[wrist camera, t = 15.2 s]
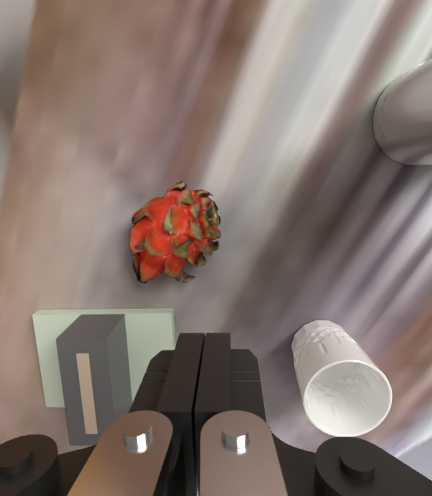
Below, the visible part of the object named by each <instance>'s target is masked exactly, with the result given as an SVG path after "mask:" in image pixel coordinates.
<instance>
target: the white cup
mask: <svg viewBox="0 0 432 496" xmlns="http://www.w3.org/2000/svg"><path fill="white" fill-rule="evenodd" d="M291 348H292V353H293V358H294V367H295V373H296V377H297V381H298V385H299V389H300V393H301V398H302V402H303V406H304V410H305V413H306V415H307V417H308V419H309V420H310V422H311V423H312V424H313V425H314V426H315V427H316V428H318V429H319V430H321V431H322V432H324V433H326V434H329V435H332V436H336V437H355V436H359V435H362V434H365V433H367V432H369V431H371V430H373V429H374V428H376V427H377V426H378V425H379V424H380V423H381V422H382V421H383V420H384V419H385V417H386V416H387V414H388V412H389V410H390V407H391V403H392V391H391V387H390V384H389V382H388V380H387V378H386V377H385V375H384V374H383V373H382V372H381V371H380V369H379V368H378V367H377V366H376V365H375V364H374V363H373V361H372V360H371V359H370V358H369V357H368V355H367V354H366V353H365V352H364V351H363V350H362V348H361V347H360V346H359V345H358V344H357V343H356V342H355V341H354V340H353V339H352V338H351V337H350V336H349V335H348V334H347V333H346V332H345V331H344V330H343V328H342V327H341V326H339V325H337V324H335V323H333V322H331V321H329V320H315V321H312V322H310V323H308V324H305V325H303V326H302V327H301V328H300V329H299V330H298V332H297V333H296V334H295V335H294V338H293V342H292V345H291Z"/></svg>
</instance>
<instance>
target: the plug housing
mask: <svg viewBox="0 0 432 496" xmlns="http://www.w3.org/2000/svg"><path fill="white" fill-rule="evenodd" d="M56 345H57V353H58V360H59V368H60V375H61V382H62V390H63V397H64V405H65V412H66V420H67V427H68V435H69V442H70V445H96V444H97V443H98V441H99V440H100V438H101V436H102V435H103V433H104V431H105V430H106V428H107V427H108V426H109V425H110V424H111V423H112V422H113V421H115V420H116V419H118V418H119V417H121V416H123V415H126V414H128V412H129V410H130V408H131V405H132V393H131V382H130V371H129V359H128V348H127V336H126V325H125V314H81V315H80V316H79V317H78V318H77V319H76V320H75V321H74V322H73V323H72V324H71V325H70V326H69V327H68V328H67V329H66V330H65V331H64V332H63V333H62V334H60V335H59V336H58V337H57V338H56Z"/></svg>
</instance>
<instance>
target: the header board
mask: <svg viewBox="0 0 432 496" xmlns="http://www.w3.org/2000/svg"><path fill="white" fill-rule="evenodd" d="M81 314H125V325H126V336H127V348H128V359H129V371H130V382H131V393H132V403H133V400H134V398H135V396H136V393H137V391H138V389H139V386H140V384H141V382H142V379H143V377H144V374H145V373H146V369H147V367H148V365H149V362H150V360H151V359H152V358H153V357H154V356H155V355H157V354H158V353H159V352H160V351H161V350H175V347H176V341H175V324H174V308H141V309H68V310H38V311H37V312H36V313H34V314H33V315H32V317H33V324H34V331H35V337H36V344H37V350H38V357H39V364H40V370H41V377H42V384H43V390H44V397H45V403H46V407H65V405H64V397H63V390H62V382H61V375H60V368H59V360H58V353H57V345H56V338H57V337H58V336H59V335H60V334H62V333H63V332H64V331H65V330H66V329H67V328H68V327H69V326H70V325H71V324H72V323H73V322H74V321H75V320H76V319H77V318H78V317H79V316H80V315H81Z"/></svg>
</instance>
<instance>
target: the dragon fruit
mask: <svg viewBox="0 0 432 496" xmlns="http://www.w3.org/2000/svg"><path fill="white" fill-rule="evenodd" d="M186 187H187V185H186V183H185V182H184V181H182V182H179V183H177V184H175V185H173V186H172V187H171V188H169V189H168V190H167V192H166V195H165V196H164V197H161V198H160V197H157V198H154V199H152V200H150V201H149V202H147V203H146V204H145V206H144V207H143V208H141V209H140V210H139V211H137V212H136V213H134V215H133V217H132V222H133V223H132V224H133V226H132V230H131V235H130V240H129V247H130V251H131V253H132V255H133V268H134V271H135V273H136V275H137V280H138V281H140V282H141V283H142V282H143V283H146V282H147V281H148V280H151V279H154V278H156V277H158V276H159V275H160V274H161V273H162V272H164V271H165V274H167V275H168V276H169V277H170V278H173V277H174V278H175V279H176V280H177V281H179V280H181V277H180V275H181V276H182V277H184V278H185V279H184V280H183V281H182V282H183V283H186V282H189V281H191V280H192V279H193V278H195V276H191V275H188V274H186V273H185V272H184V271H183V267H184V265H185V264H186V263H187V262H190V263H191V264H193V265H194V266H197V267H199V266H203V265H205V263H206V259H205V257H204V256H203V252H204V253H207V254H208V255H210V256H211V255H212V251H216V250H217V249H218V247H219V242H218V241H216V242H214V241H212V240H215V239H217V238H220V236H221V234H220V230H219V229H218V228H217V227H218V225H219V224H220V221H221V220H220V217H219V216H218V213H217V210H218V208H217V205H216V204H215V202H214V201H213V200H211V199H210V198H208V196H209V195H212V194H210V192H207V191H204V190H190V189H187V190H184V189H185V188H186ZM183 190H184V191H183ZM212 196H213V195H212ZM200 252H201V253H200ZM140 273H141V274H140ZM139 274H140V275H139ZM178 274H180V275H178ZM140 276H141V277H140ZM151 288H152V287H151Z"/></svg>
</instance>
